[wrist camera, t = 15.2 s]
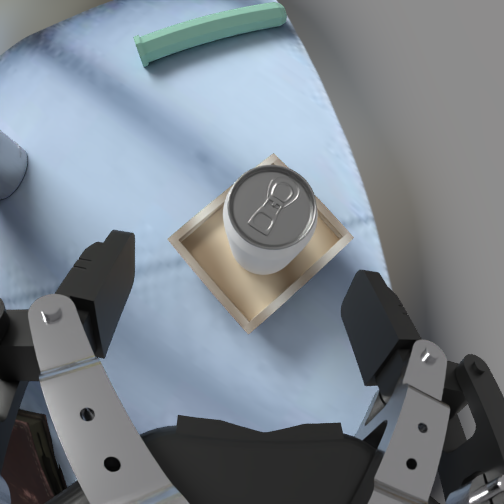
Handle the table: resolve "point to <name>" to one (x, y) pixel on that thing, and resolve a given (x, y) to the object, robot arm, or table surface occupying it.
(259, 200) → the can
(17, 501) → the diary
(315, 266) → the shallow wooden tray
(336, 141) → the table surface
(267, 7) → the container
